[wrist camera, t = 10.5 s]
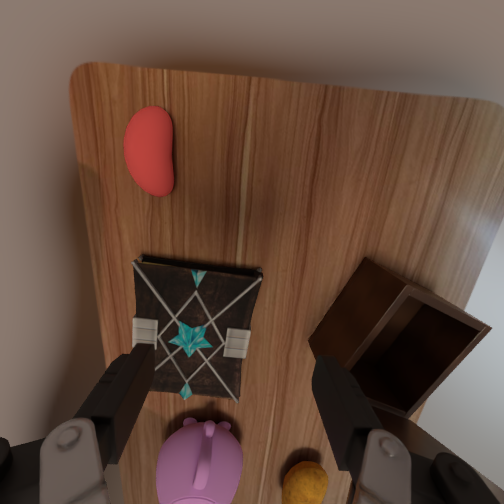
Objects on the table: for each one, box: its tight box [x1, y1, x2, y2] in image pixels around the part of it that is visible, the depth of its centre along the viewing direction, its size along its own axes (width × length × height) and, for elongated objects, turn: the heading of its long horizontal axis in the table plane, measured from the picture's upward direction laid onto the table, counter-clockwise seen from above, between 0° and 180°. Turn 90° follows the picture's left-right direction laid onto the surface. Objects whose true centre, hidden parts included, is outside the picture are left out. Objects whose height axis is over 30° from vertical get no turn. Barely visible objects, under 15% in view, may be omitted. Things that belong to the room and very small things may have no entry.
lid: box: [371, 405, 504, 504], centre depth 21 cm, size 17×13×5 cm
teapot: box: [156, 418, 243, 504], centre depth 37 cm, size 20×14×12 cm
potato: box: [282, 461, 328, 504], centre depth 44 cm, size 8×14×7 cm, turn 163°
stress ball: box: [124, 106, 174, 197], centre depth 26 cm, size 5×9×6 cm, turn 164°
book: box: [131, 254, 263, 403], centre depth 33 cm, size 22×17×5 cm
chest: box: [308, 257, 492, 419], centre depth 33 cm, size 16×13×9 cm
